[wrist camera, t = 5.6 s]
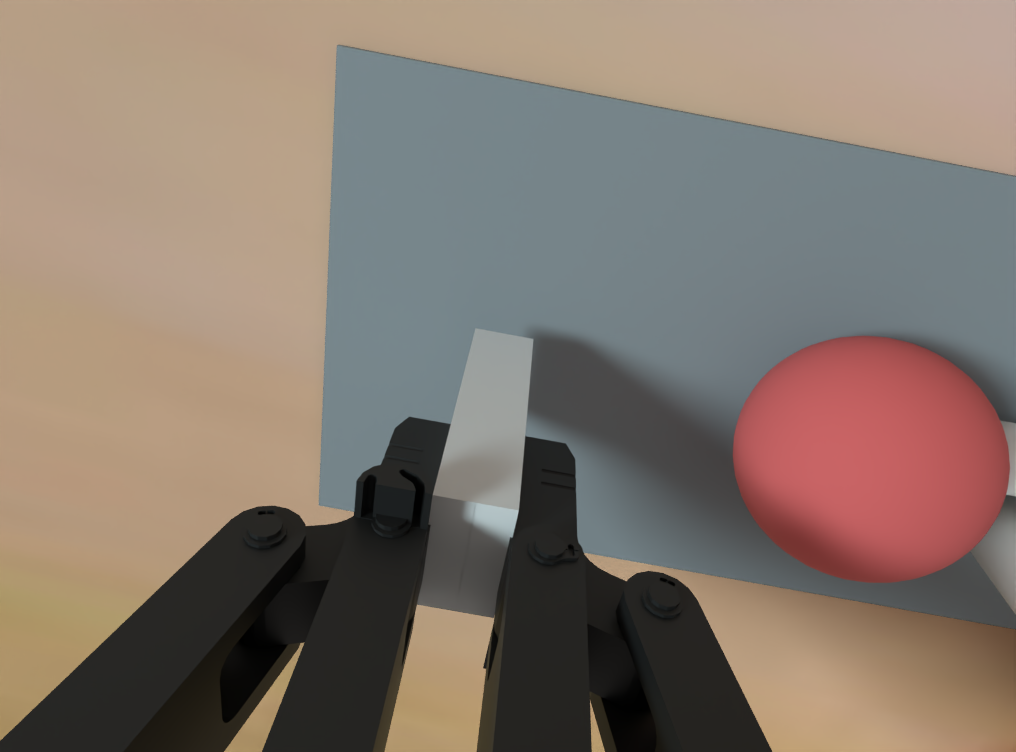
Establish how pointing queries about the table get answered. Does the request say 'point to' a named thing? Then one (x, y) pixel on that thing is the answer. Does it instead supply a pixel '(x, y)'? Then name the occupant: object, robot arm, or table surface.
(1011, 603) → the pin
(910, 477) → the ball
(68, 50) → the table surface
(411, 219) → the plate
